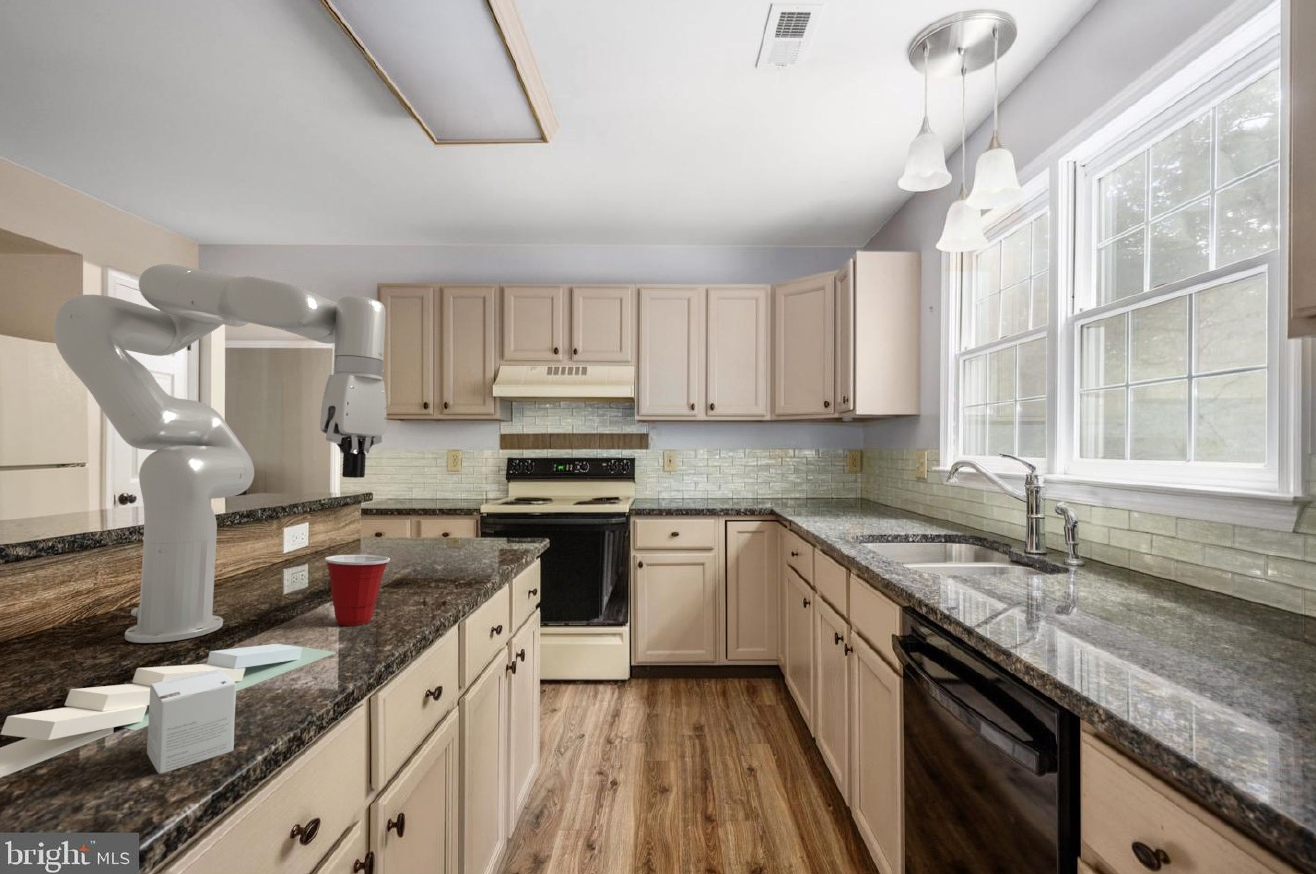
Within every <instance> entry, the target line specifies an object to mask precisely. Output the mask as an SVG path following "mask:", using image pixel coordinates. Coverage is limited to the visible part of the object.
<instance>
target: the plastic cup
mask: <svg viewBox="0 0 1316 874" xmlns="http://www.w3.org/2000/svg"><path fill="white" fill-rule="evenodd" d="M324 559H325V562H326V564H327V570H328V576H329V581H330V582H329V583H330V591H331V598H332V599H331V600H332V606H333V608H334V609H333V610H334V619H335V621H336V624H337V625H338V626H342V625H343V627H345V626H347V627H348V626H350V627H351V626H352V627H353V626H360V625H364V624H367V623H370V622H371V620H372V618H373V617H374V611H375V606H376V602H377V599H378V594H379V591H380V586H381V581H382V578H383V575H384V572H385V570H386V566H387V565H388V563H389V562H390V560H391V558H390V557H388V556H383V555H382V556H381V555H372V554H341V555H340V554H338V555H331V556H330V555H329V556H326V557H324Z"/></svg>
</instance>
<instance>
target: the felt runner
mask: <svg viewBox="0 0 1316 874" xmlns="http://www.w3.org/2000/svg"><path fill="white" fill-rule="evenodd" d="M286 645H288V646H294V647H300V648H302V651H301V656H300V659H298V660H291V661H284V662H277V663H271V664H264V665H257V666H250V667H244V668H245V672H244V675H243V679H242V681H236V682H235V683H236V692H239V691H241V690H244V689H246V688H249V687H252V686H254V685H257V684H259V683H262V682H264V681H267V680H270V679H272V678H275V677H277V676H280V675H282V674H285V673H288V672H291V671H293V670H296V669H299V668H301V667H303V666H305V665H308V664H312V663H313V662H316V661H319V660H321V659H324V658H327V657H329V656H331V655H335V654H337V652H336V651H330V650H325V649H318V648H311V647H307V646H306V647H305V646H301V645H300V646H299V645H293V644H286ZM148 724H149V705H147V709H146V712H145V715H144V718H143V721H142V722H137V723H132V724H127V725H122V726H117V727H118V728H122V729H124V730H125V729H126V730H130V731H133V732H134V731H135V732H136V731H138V730H140V729H143V728H146V727H148Z"/></svg>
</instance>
